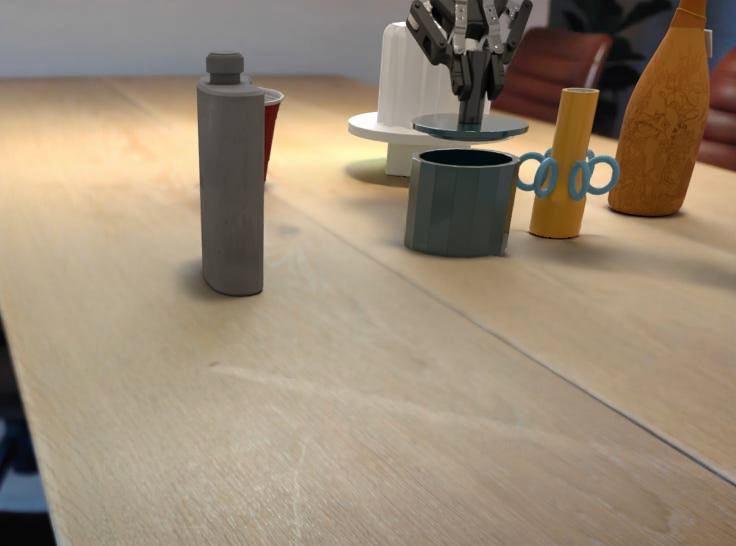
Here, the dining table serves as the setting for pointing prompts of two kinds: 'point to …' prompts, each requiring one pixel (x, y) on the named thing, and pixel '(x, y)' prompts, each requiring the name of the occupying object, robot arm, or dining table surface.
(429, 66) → the flanged gear
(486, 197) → the pot
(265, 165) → the plastic cup
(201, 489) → the dining table surface
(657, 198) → the wine bottle
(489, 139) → the lid
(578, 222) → the cylinder
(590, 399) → the dining table surface
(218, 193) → the flask
